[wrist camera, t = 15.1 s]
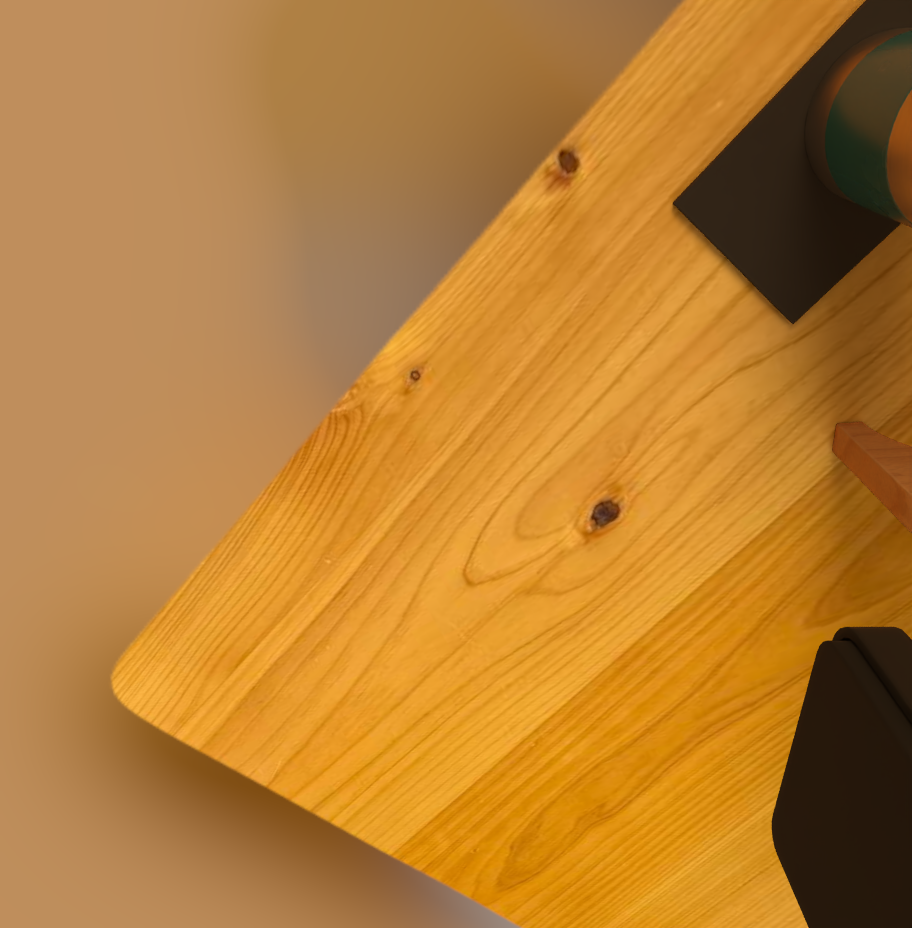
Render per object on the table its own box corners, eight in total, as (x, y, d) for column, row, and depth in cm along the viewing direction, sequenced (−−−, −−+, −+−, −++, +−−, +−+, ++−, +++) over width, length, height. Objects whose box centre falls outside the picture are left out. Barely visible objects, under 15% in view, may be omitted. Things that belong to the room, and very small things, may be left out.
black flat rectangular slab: (790, 322, 39) (793, 324, 39) (672, 203, 37) (674, 204, 36) (1108, 24, 34) (1114, 24, 34) (997, -138, 32) (1002, -140, 31)
